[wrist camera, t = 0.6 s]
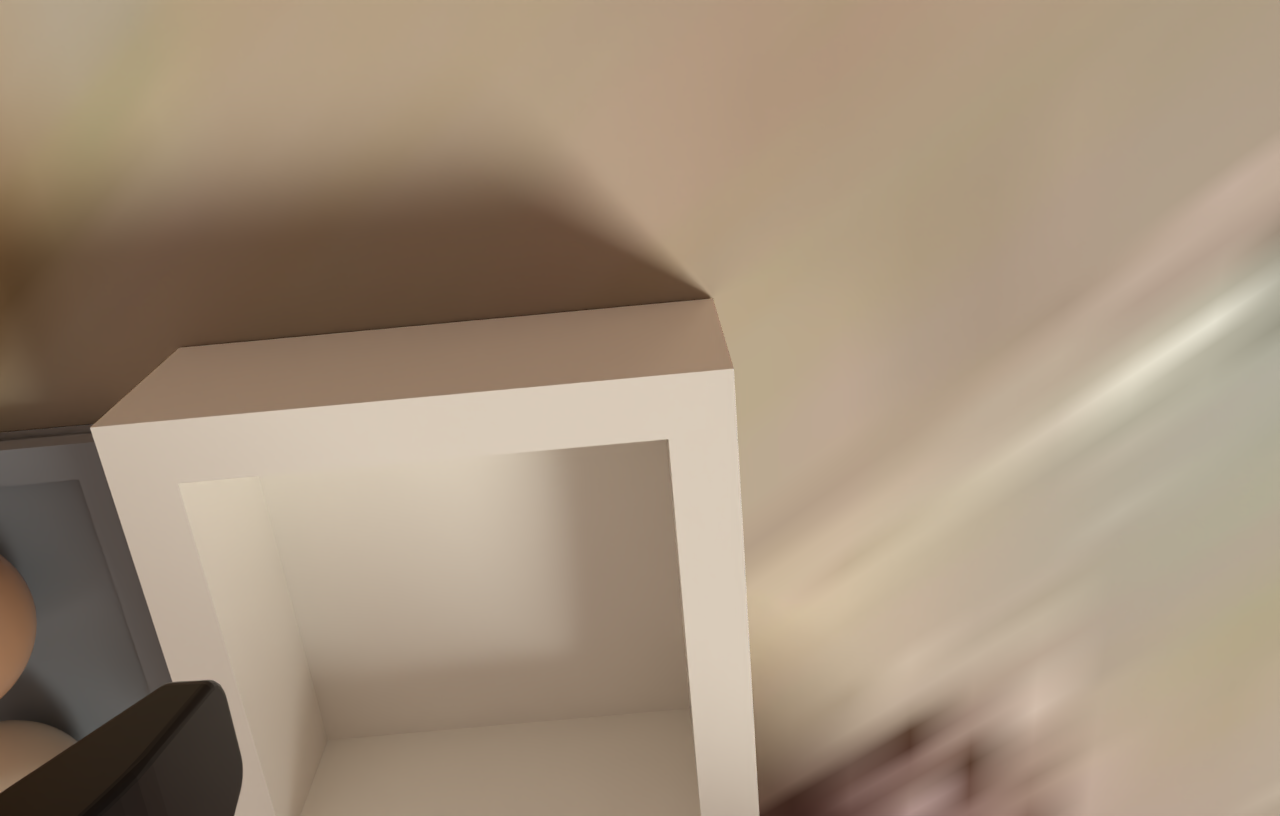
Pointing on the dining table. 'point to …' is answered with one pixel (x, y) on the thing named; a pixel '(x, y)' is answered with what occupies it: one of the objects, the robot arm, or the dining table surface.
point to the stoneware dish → (455, 562)
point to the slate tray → (74, 585)
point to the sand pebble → (27, 748)
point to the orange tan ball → (15, 625)
